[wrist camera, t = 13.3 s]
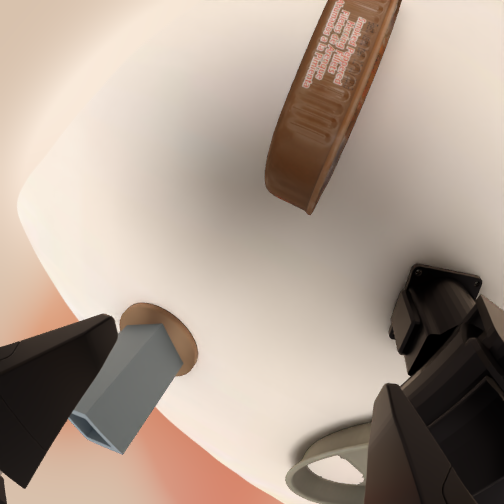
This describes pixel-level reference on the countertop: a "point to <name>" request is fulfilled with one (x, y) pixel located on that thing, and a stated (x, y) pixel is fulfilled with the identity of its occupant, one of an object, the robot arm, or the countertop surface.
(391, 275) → the countertop surface
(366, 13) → the tin
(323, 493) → the cake pan
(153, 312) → the pin base
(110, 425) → the sleeve
